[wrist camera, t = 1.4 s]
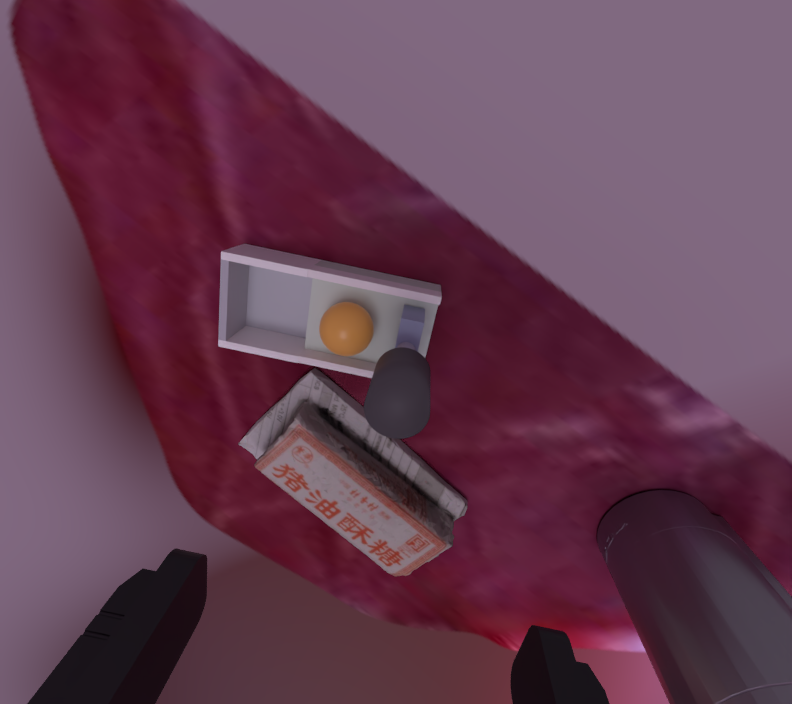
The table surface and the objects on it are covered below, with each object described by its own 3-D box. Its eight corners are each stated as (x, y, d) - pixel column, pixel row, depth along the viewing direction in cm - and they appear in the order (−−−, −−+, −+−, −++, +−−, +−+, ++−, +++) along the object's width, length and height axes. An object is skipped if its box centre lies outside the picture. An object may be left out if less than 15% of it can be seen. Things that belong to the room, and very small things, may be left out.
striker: (436, 311, 28) (439, 378, 18) (423, 365, 29) (419, 453, 20) (392, 301, 28) (371, 364, 18) (381, 356, 29) (357, 440, 20)
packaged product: (477, 541, 32) (388, 600, 35) (471, 497, 36) (393, 553, 40) (297, 389, 28) (215, 471, 31) (315, 361, 33) (242, 435, 36)
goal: (321, 259, 29) (307, 269, 26) (311, 344, 32) (297, 363, 28) (244, 243, 29) (221, 251, 26) (240, 329, 32) (218, 346, 28)
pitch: (440, 285, 29) (441, 297, 26) (420, 367, 32) (419, 388, 29) (321, 259, 29) (308, 269, 26) (311, 344, 32) (297, 362, 29)
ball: (381, 301, 28) (374, 317, 25) (372, 349, 29) (364, 370, 26) (329, 291, 28) (316, 305, 25) (323, 339, 29) (309, 358, 26)
